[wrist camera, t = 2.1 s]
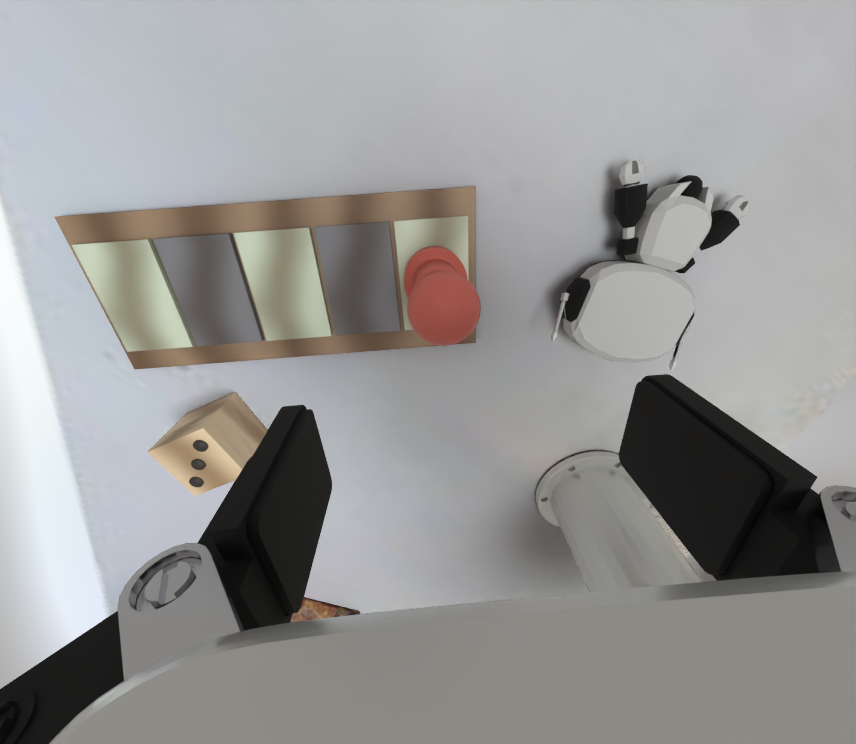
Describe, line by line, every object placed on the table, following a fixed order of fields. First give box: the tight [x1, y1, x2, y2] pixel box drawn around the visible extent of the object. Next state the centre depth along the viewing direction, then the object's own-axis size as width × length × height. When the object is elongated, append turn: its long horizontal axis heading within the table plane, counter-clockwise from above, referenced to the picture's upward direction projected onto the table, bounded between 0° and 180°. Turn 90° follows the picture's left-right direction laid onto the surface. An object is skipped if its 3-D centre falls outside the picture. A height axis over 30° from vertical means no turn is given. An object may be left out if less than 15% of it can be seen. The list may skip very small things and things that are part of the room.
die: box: [148, 392, 268, 496], centre depth 33 cm, size 6×6×6 cm
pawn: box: [404, 246, 480, 346], centre depth 23 cm, size 5×5×11 cm
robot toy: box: [551, 160, 750, 370], centre depth 29 cm, size 12×4×15 cm
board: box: [55, 186, 476, 369], centre depth 29 cm, size 32×13×1 cm, turn 94°
